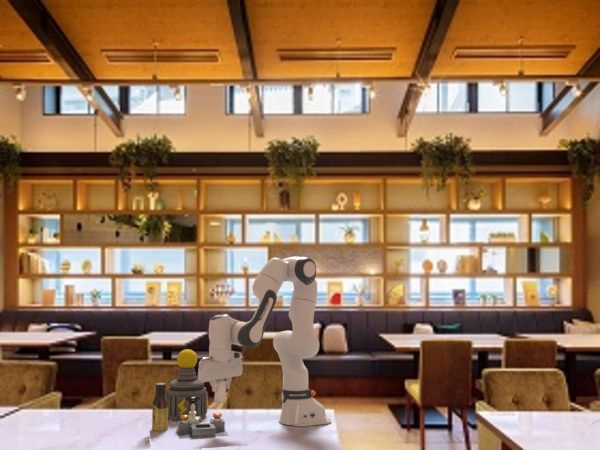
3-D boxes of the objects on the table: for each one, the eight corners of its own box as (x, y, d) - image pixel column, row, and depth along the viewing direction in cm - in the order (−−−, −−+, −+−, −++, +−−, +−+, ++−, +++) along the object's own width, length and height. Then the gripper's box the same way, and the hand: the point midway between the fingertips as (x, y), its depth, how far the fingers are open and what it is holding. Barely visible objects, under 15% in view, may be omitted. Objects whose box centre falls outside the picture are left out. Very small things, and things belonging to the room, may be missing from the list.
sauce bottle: (153, 431, 269) (154, 382, 270) (168, 431, 269) (169, 381, 271) (150, 435, 262) (151, 384, 264) (166, 435, 263) (167, 384, 264)
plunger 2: (221, 426, 269) (221, 412, 269) (222, 428, 266) (222, 414, 266) (212, 427, 268) (212, 413, 269) (213, 429, 265) (213, 415, 265)
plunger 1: (188, 428, 266) (189, 414, 266) (189, 430, 262) (189, 416, 263) (179, 428, 265) (180, 415, 265) (180, 431, 261) (180, 416, 262)
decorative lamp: (204, 421, 287) (204, 351, 289) (160, 421, 287) (162, 351, 290) (210, 412, 306) (211, 347, 308) (170, 412, 306) (171, 346, 308)
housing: (223, 430, 271) (223, 418, 271) (228, 439, 256) (228, 426, 257) (176, 433, 266) (176, 420, 266) (179, 442, 252) (179, 429, 252)
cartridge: (219, 400, 266) (220, 376, 267) (227, 401, 263) (228, 376, 265) (211, 401, 262) (213, 376, 264) (219, 402, 260) (220, 377, 261)
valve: (197, 428, 275) (197, 398, 276) (182, 427, 277) (182, 398, 277) (202, 424, 282) (202, 396, 283) (187, 423, 283) (188, 395, 284)
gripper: (203, 359, 255) (204, 395, 254) (244, 353, 269) (245, 387, 268) (194, 357, 259) (194, 393, 258) (234, 351, 273) (235, 385, 273)
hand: (220, 390), depth 263 cm, fingers closed on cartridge, 5 cm apart
